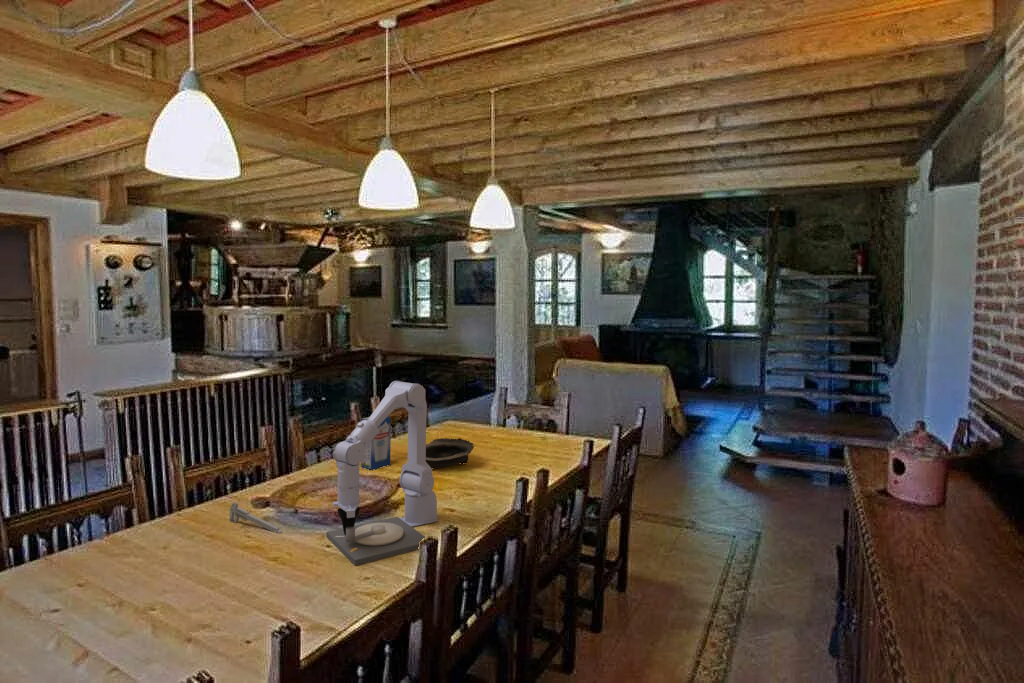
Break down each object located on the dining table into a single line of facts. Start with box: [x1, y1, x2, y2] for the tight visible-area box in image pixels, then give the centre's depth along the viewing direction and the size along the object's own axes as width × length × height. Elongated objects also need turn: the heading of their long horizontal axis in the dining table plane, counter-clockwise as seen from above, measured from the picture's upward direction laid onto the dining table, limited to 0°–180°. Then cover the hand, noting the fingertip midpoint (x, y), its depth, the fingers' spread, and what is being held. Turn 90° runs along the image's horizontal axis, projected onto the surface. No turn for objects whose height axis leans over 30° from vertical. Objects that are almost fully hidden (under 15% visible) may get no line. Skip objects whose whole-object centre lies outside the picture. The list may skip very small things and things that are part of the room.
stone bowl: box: [426, 437, 475, 469], centre depth 246 cm, size 25×25×9 cm
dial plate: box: [325, 516, 426, 567], centre depth 169 cm, size 22×22×2 cm
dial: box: [346, 523, 403, 546], centre depth 168 cm, size 17×14×5 cm
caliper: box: [229, 501, 283, 534], centre depth 178 cm, size 20×1×6 cm, turn 65°
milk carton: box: [360, 416, 392, 471], centre depth 242 cm, size 10×6×20 cm, turn 143°
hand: (348, 534), depth 164 cm, fingers closed
